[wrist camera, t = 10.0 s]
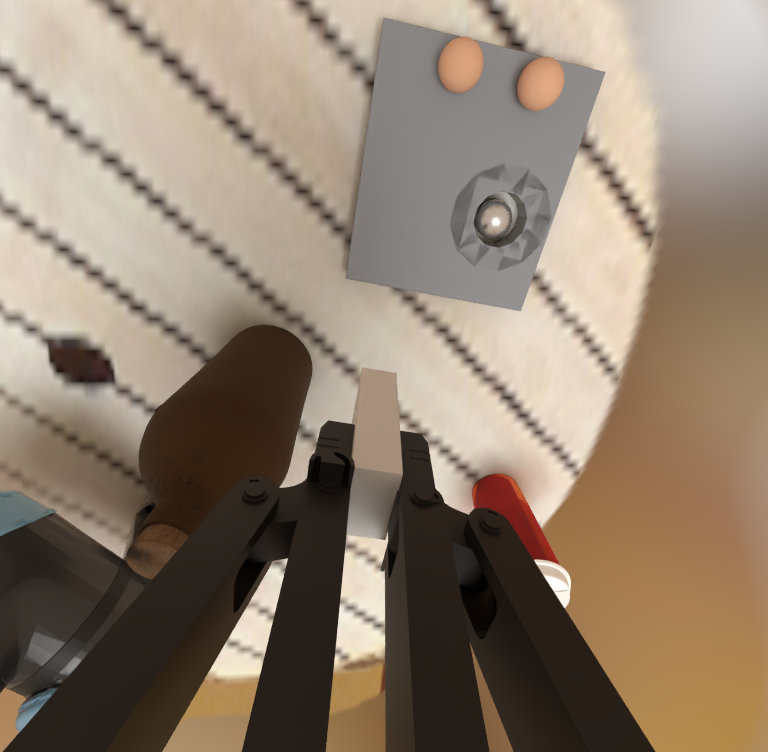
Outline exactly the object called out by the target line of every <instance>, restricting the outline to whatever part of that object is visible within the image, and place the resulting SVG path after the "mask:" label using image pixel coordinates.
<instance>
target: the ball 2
mask: <svg viewBox="0 0 768 752" xmlns="http://www.w3.org/2000/svg"><path fill="white" fill-rule="evenodd" d="M511 222H512V212H511V209H510V207H509V206H508V205H507V204H506V203H505V202H503V201H501V200H490V201H487V202H485V203H484V204H483V205H481V207H480V208H479V209H478V211H477V213H476V216H475V225H476V228H477V230H478V232H479V233H480V234H481V235H483V236H485V237H487V238H497V237H500V236H501V235H503V234H504V233H505V232H506V231H507V230H508V229H509V227H510V225H511Z"/></svg>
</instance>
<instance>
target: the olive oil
mask: <svg viewBox="0 0 768 752" xmlns="http://www.w3.org/2000/svg"><path fill="white" fill-rule="evenodd" d="M311 377H312V362H311V358H310V355H309V353H308V351H307V349H306V348H305V346H304V345H303V344H302V342H301V341H300V340H299V339H298V338H296V337H295V336H294V335H293V334H291V333H289V332H288V331H286V330H283V329H281V328H278V327H274V326H266V325H261V326H254V327H250V328H247V329H245V330H243V331H241V332H240V333H238V334H237V335H236V336H235V337H234V338H233V339H232V340H231V341H230V342H229V343H228V344H227V345H226V346H225V347H224V348H223V349H222V350H221V351H220V352H219V353H218V354H217V355H216V356H215V357H214V358H212V359H211V360H210V361H209V362H208V363H207V364H206V365H205V366H204V367H203V368H202V369H201V370H200V371H198V372H197V373H196V374H195V375H194V376H193V377H192V378H191V379H190V380H189V381H188V382H186V383H185V384H184V385H183V386H182V387H181V388H180V389H179V390H178V391H176V392H175V393H174V394H173V395H172V396H171V397H170V398H169V399H168V400H166V401H165V402H164V403H163V404H162V405H160V406H159V407H158V408H157V409H156V410H155V413H154V415H153V416H152V418H151V419H150V421H149V423H148V425H147V427H146V429H145V432H144V435H143V438H142V441H141V445H140V450H139V468H140V473H141V477H142V479H143V482H144V484H145V486H146V488H147V490H148V492H149V494H150V495H151V497H152V499H153V501H154V502H155V504H156V506H155V508H154V509H153V510H152V512H151V513H150V514H149V516H148V517H147V519H146V520H145V521H144V523H143V524H142V526H141V527H140V528H139V530H138V532H137V538H136V539H135V540H134V541H133V543H132V544H131V546H130V547H129V549H128V550H127V553H126V560H127V563H128V565H129V566H130V567H131V568H132V569H133V570H134V571H135V572H136V573H138V574H139V575H141V576H143V577H146V578H148V579H153V578H154V577H155V576H156V575H157V573H158V572H159V571H160V570H161V569H162V568H163V567H164V565H165V564H166V563H167V562H168V561H169V560H170V558H171V557H172V556H173V555H174V554H175V553H176V552H177V550H178V549H179V548H180V547H181V546H182V545H183V543H184V542H185V541H186V540H187V539H188V538H189V537H190V535H191V534H192V533H193V532H194V531H195V530H196V528H197V527H198V526H199V525H200V524H201V523H202V522H203V520H204V519H205V518H206V517H207V516H208V515H209V514H210V512H211V511H212V510H213V509H214V508H215V507H216V505H217V504H218V503H219V502H220V501H221V500H222V499H223V497H224V496H225V495H226V494H227V493H228V492H229V490H230V489H231V488H232V487H233V486H234V485H235V484H237V483H238V482H239V481H241V480H244V479H246V478H250V477H262V478H267V479H269V480H271V481H273V482H274V483H275V484H276V485H277V486H278V488H279V487H280V486H281V484H282V482H283V481H284V479H285V477H286V475H287V472H288V469H289V466H290V462H291V458H292V453H293V449H294V445H295V440H296V436H297V431H298V427H299V423H300V419H301V415H302V411H303V406H304V402H305V399H306V395H307V392H308V388H309V385H310V381H311Z"/></svg>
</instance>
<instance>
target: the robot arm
mask: <svg viewBox="0 0 768 752" xmlns="http://www.w3.org/2000/svg"><path fill="white" fill-rule="evenodd" d="M430 461H431V459H430V454H429V447H428V443H427V441H426V440H425V438H424V437H423V436H422V434H418V433H412V432H405V431H400V423H399V408H398V393H397V378H396V373H392V372H386V371H380V370H374V369H368V368H362V371H361V377H360V382H359V388H358V393H357V399H356V404H355V410H354V415H353V421H352V424H348V423H341V422H335V421H328V422H326V423H325V424H324V425H323V426H322V427H321V430H320V434H319V438H318V443H317V447H316V451H315V453H314V454H313V455H312V456H311V458H310V460H309V467H308V475H307V479H306V480H305V481H303V482H302V483H300V484H298V485H296V486H292V487H286V488H278V486H277V485H276V484H275V483H274V482H273V481H271V480H269V479H267V478H262V477H250V478H246V479H244V480H241V481H239V482H238V483H237V484H235V485H234V486H233V487H232V488H231V489H230V490H229V492H228V493H227V494H226V495H225V496H224V497H223V499H222V500H221V501H220V502H219V503H218V504H217V505H216V507H215V508H214V509H213V510H212V511H211V512H210V514H209V515H208V516H207V517H206V518H205V519H204V520H203V522H202V523H201V524H200V525H199V526H198V527H197V528H196V530H195V531H194V532H193V533H192V534H191V535H190V537H189V538H188V539H187V540H186V541H185V542H184V543H183V545H182V546H181V547H180V548H179V549H178V550H177V552H176V553H175V554H174V555H173V556H172V557H171V558H170V560H169V561H168V562H167V563H166V564H165V565H164V567H163V568H162V569H161V570H160V571H159V572H158V573H157V575H156V576H155V577H154V578H153V579H148V578H146V577H143V576H141V575H139V574H138V573H136V572H135V571H134V570H133V569H132V568H131V567H130V566H129V565H128V563H127V560H126V553H127V550H128V549H129V547H130V546H131V544H132V543H133V541H134V540H135V539H136V538H137V532H138V530H139V528H140V527H141V526H142V524H143V523H144V521H145V520H146V519H147V517H148V516H149V514H150V513H151V512H152V510H153V509H154V508H155V506H156V504H155V502H154V501H153V499H152V497H151V495H149V496H148V497H147V498H146V499H145V501H144V502H143V504H142V505H141V506H140V508H139V509H138V511H137V512H136V514H135V516H134V518H133V522H132V525H131V529H130V533H129V537H128V541H127V545H126V549H125V552H124V556H123V559H121V558H120V557H119V556H117V555H116V554H115V553H113V552H112V551H110V550H109V549H107V548H106V547H104V546H103V545H101V544H100V543H98V542H97V541H95V540H94V539H92V538H91V537H89V536H88V535H86V534H85V533H84V532H82V531H81V530H79V529H78V528H76V527H75V526H74V525H72V524H71V523H69V522H68V521H67V520H65V519H64V518H62V517H61V516H59V515H58V514H57V513H56V512H57V511H56V510H54V509H48V508H47V507H45V506H43V505H41V504H40V503H38V502H36V501H35V500H33V499H31V498H30V497H28V496H26V495H25V494H23V493H21V492H18V491H0V693H1V692H2V690H3V689H4V688H7V689H9V690H12V691H14V692H16V693H18V694H20V695H22V696H24V697H25V698H26V701H24V702H23V704H22V705H21V707H20V708H19V710H18V716H17V718H16V722H15V724H16V729H17V730H18V732H19V734H18V735H17V736H16V737H15V738H14V739H13V741H12V742H11V743H10V744H9V745H8V747H7V748H6V749H5V750H4V751H3V752H162V751H163V749H164V747H165V746H166V744H167V743H168V741H169V739H170V737H171V736H172V734H173V732H174V731H175V729H176V727H177V725H178V724H179V722H180V720H181V719H182V717H183V715H184V713H185V712H186V710H187V708H188V707H189V705H190V703H191V701H192V700H193V698H194V696H195V694H196V693H197V691H198V689H199V688H200V686H201V684H202V682H203V681H204V679H205V677H206V676H207V674H208V672H209V670H210V669H211V667H212V665H213V664H214V662H215V660H216V658H217V657H218V655H219V653H220V652H221V650H222V648H223V646H224V645H225V643H226V641H227V640H228V638H229V636H230V634H231V633H232V631H233V629H234V628H235V626H236V624H237V622H238V621H239V619H240V617H241V616H242V614H243V612H244V610H245V609H246V607H247V605H248V604H249V602H250V600H251V598H252V597H253V595H254V593H255V592H256V590H257V588H258V586H259V585H260V583H261V581H262V579H263V578H264V576H265V574H266V573H267V571H268V569H269V567H270V566H271V564H272V561H275V560H281V559H286V558H288V561H287V566H286V570H285V574H284V578H283V582H282V586H281V591H280V595H279V599H278V603H277V607H276V611H275V616H274V620H273V624H272V628H271V632H270V636H269V641H268V645H267V649H266V653H265V657H264V661H263V666H262V670H261V674H260V678H259V682H258V686H257V691H256V695H255V699H254V703H253V707H252V711H251V716H250V720H249V724H248V728H247V732H246V736H245V741H244V745H243V749H242V752H326V742H327V730H328V720H329V711H330V700H331V690H332V679H333V669H334V658H335V648H336V638H337V627H338V617H339V606H340V596H341V586H342V575H343V565H344V554H345V544H346V535H353V536H360V537H368V538H376V539H383V540H385V539H386V536H387V532H388V544H387V548H386V552H385V555H384V559H383V563H382V567H381V571H384V570H385V696H386V752H489V746H488V741H487V735H486V730H485V724H484V719H483V713H482V708H481V702H480V697H479V691H478V686H477V680H476V675H475V669H474V664H473V658H472V653H471V647H470V643H471V646H472V648H473V651H474V653H475V656H476V658H477V661H478V663H479V666H480V668H481V671H482V673H483V676H484V679H485V681H486V684H487V686H488V689H489V691H490V694H491V696H492V699H493V701H494V704H495V706H496V709H497V711H498V714H499V716H500V718H501V721H502V724H503V726H504V729H505V731H506V734H507V736H508V739H509V741H510V744H511V746H512V748H513V751H514V752H655V751H654V749H653V747H652V746H651V744H650V743H649V741H648V739H647V738H646V736H645V735H644V733H643V732H642V730H641V728H640V727H639V725H638V724H637V722H636V720H635V719H634V718H633V716H632V714H631V713H630V711H629V709H628V708H627V706H626V705H625V703H624V702H623V700H622V698H621V697H620V695H619V694H618V692H617V691H616V689H615V687H614V686H613V684H612V683H611V681H610V679H609V678H608V676H607V675H606V673H605V671H604V670H603V668H602V667H601V665H600V664H599V662H598V660H597V659H596V657H595V656H594V654H593V653H592V651H591V649H590V648H589V646H588V645H587V643H586V642H585V640H584V638H583V637H582V636H581V634H580V632H579V630H578V629H577V627H576V626H575V624H574V623H573V621H572V620H571V618H570V616H569V615H568V613H567V612H566V610H565V608H564V607H563V605H562V604H561V602H560V600H559V599H558V597H557V596H556V594H555V593H554V591H553V589H552V588H551V586H550V585H549V583H548V582H547V580H546V578H545V577H544V575H543V574H542V572H541V570H540V569H539V567H538V566H537V564H536V563H535V561H534V559H533V558H532V556H531V555H530V553H529V552H528V550H527V548H526V547H525V545H524V544H523V542H522V540H521V539H520V537H519V536H518V534H517V533H516V531H515V529H514V528H513V526H512V525H511V523H510V522H509V521H508V520H507V519H506V517H505V516H503V515H502V514H500V513H499V512H497V511H495V510H492V509H490V508H483V507H480V508H476V509H474V510H473V511H472V512H470V514H469V515H468V514H465V513H463V512H460V511H458V510H456V509H453V508H451V507H450V506H448V505H447V504H445V503H444V500H443V498H442V495H441V494H440V493H439V492H438V491H437V490H436V489H435V483H434V477H433V471H432V465H431V462H430ZM469 641H470V642H469Z"/></svg>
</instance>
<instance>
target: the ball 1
mask: <svg viewBox="0 0 768 752" xmlns="http://www.w3.org/2000/svg"><path fill="white" fill-rule="evenodd" d="M483 66H484V57H483V52H482V50H481V48H480V46H479V44H478V43H477V42H476V41H475V40H473V39H471V38H469V37H458V38H456V39H454V40H452V41H451V42H449V43H448V44H447V46H446V47H445V48H444V50H443V51H442V53H441V56H440V59H439V65H438V72H439V77H440V80H441V82H442V84H443V85H444V86H445V87H446V88H447V89H448V90H449V91H451V92H454V93H463V92H466V91H468V90H470V89H471V88H472V87H474V86H475V84H476V83H477V82H478V80H479V79H480V77H481V74H482V71H483Z"/></svg>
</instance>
